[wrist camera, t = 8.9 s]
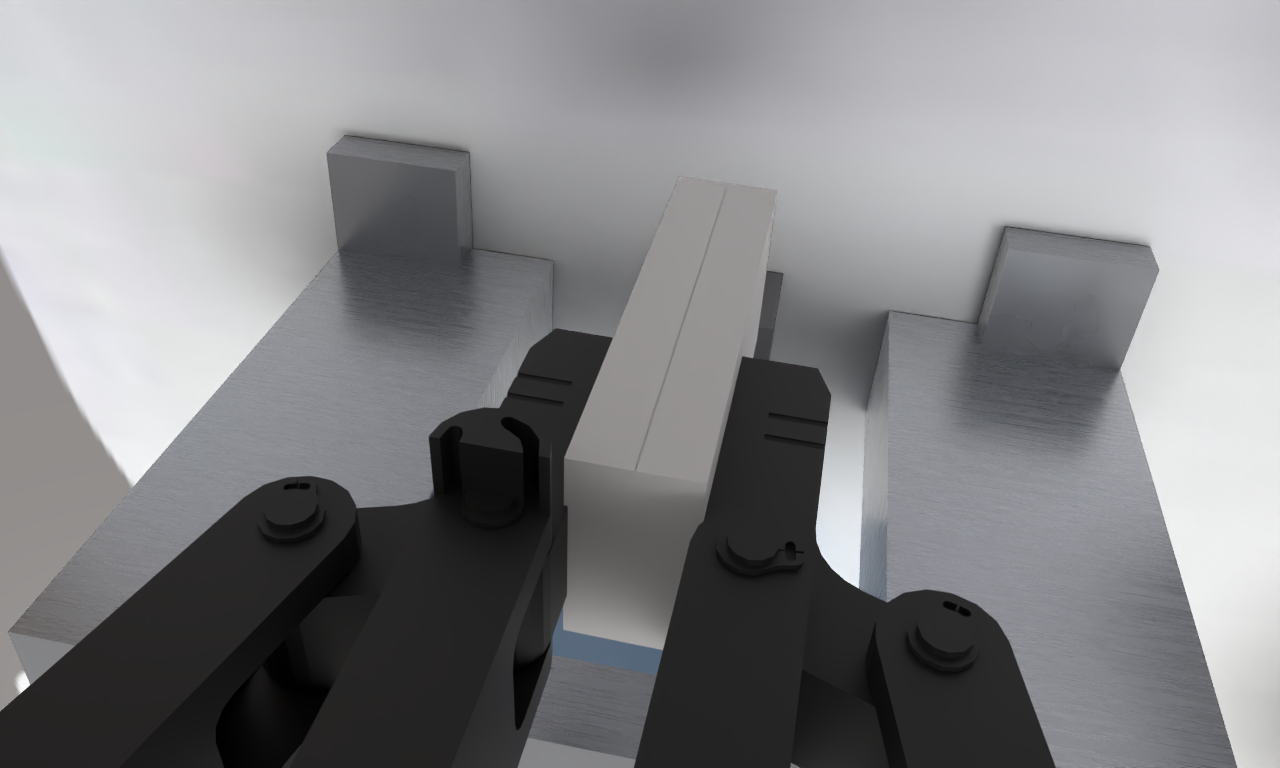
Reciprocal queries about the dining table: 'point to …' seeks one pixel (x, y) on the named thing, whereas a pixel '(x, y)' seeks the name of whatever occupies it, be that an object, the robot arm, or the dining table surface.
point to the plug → (630, 653)
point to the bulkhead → (892, 480)
